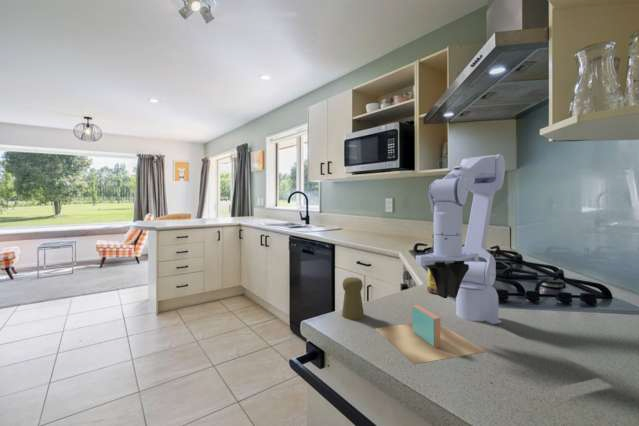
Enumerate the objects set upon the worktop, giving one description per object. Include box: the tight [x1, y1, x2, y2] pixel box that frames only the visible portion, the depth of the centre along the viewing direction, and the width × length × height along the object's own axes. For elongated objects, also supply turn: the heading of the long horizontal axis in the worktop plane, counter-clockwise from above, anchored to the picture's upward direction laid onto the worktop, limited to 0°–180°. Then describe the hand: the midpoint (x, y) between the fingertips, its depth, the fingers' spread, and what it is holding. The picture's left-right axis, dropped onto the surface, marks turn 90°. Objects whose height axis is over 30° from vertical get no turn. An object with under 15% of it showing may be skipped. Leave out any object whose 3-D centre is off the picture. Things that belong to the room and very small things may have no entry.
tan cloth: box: [375, 322, 487, 365], centre depth 63 cm, size 16×16×1 cm
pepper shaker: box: [341, 276, 365, 321], centre depth 77 cm, size 6×6×11 cm
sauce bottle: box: [426, 232, 438, 295], centre depth 100 cm, size 6×6×20 cm
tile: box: [412, 304, 441, 348], centre depth 63 cm, size 1×8×6 cm, turn 15°
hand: (447, 296), depth 64 cm, fingers closed
